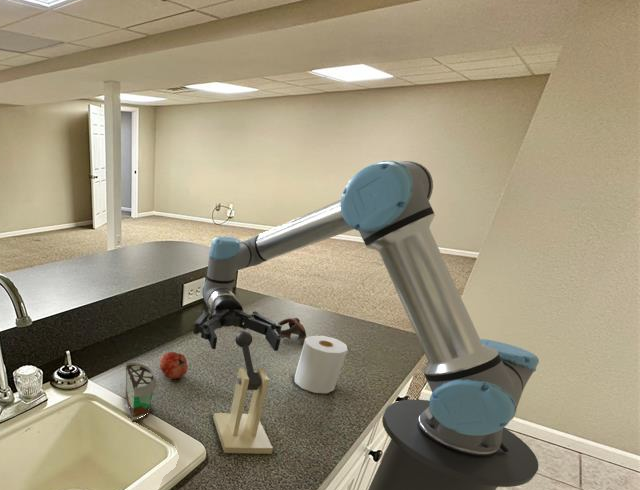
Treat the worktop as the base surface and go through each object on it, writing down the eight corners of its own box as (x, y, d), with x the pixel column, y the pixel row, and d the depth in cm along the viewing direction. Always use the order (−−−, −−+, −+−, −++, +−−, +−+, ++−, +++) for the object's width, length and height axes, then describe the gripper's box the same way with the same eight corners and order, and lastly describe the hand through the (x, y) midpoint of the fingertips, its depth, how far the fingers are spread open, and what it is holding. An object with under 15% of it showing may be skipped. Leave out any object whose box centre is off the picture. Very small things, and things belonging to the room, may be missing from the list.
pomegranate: (154, 382, 111) (170, 377, 102) (151, 356, 112) (167, 348, 103) (178, 380, 114) (196, 375, 105) (175, 355, 115) (192, 348, 106)
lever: (232, 338, 91) (236, 327, 88) (248, 338, 91) (252, 328, 88) (242, 391, 83) (247, 381, 80) (259, 391, 83) (265, 382, 80)
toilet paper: (292, 387, 107) (303, 347, 101) (296, 370, 115) (306, 332, 109) (333, 397, 103) (347, 356, 97) (334, 379, 111) (347, 340, 105)
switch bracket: (213, 418, 94) (223, 358, 86) (255, 419, 94) (269, 360, 86) (224, 452, 84) (236, 389, 76) (271, 453, 84) (289, 390, 76)
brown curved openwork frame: (306, 350, 127) (298, 329, 124) (276, 354, 133) (268, 335, 130) (311, 328, 135) (304, 308, 131) (283, 333, 141) (275, 314, 137)
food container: (159, 424, 91) (163, 387, 86) (133, 426, 90) (135, 389, 85) (148, 394, 102) (151, 360, 97) (124, 396, 101) (125, 361, 96)
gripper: (269, 322, 107) (299, 361, 89) (176, 320, 107) (186, 358, 88) (275, 295, 103) (307, 329, 85) (178, 293, 103) (190, 326, 84)
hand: (246, 344), depth 86 cm, fingers open, 13 cm apart
